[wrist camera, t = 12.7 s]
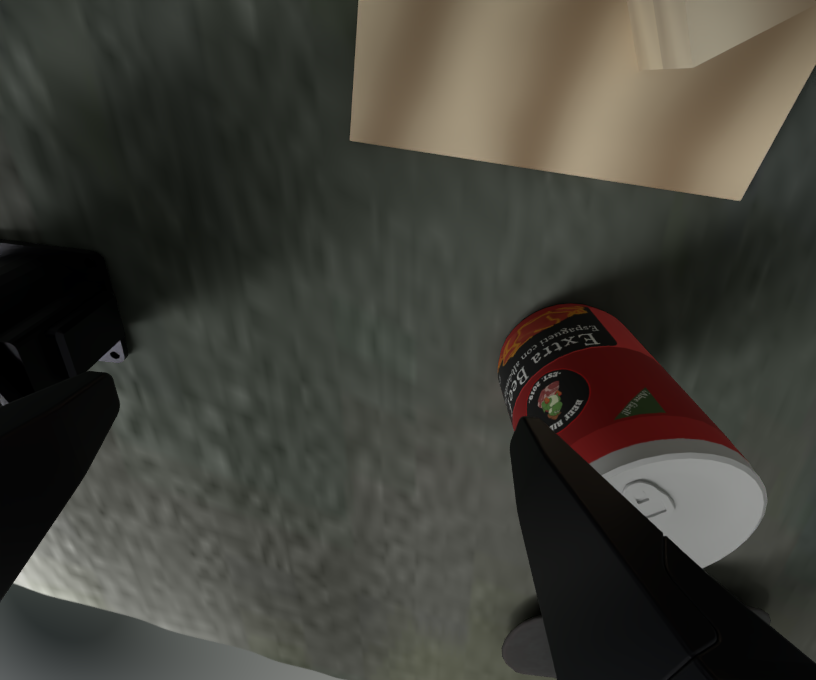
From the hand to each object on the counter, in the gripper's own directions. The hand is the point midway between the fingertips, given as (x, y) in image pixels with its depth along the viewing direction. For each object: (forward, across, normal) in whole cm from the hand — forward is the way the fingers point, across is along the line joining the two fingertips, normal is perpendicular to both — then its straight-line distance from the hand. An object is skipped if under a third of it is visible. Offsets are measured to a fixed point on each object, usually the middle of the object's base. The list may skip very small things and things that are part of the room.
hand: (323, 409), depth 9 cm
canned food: (+13, -12, +6) cm, 19 cm away
